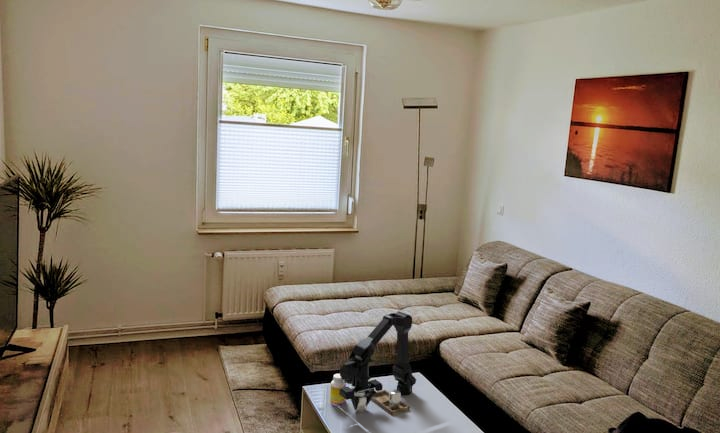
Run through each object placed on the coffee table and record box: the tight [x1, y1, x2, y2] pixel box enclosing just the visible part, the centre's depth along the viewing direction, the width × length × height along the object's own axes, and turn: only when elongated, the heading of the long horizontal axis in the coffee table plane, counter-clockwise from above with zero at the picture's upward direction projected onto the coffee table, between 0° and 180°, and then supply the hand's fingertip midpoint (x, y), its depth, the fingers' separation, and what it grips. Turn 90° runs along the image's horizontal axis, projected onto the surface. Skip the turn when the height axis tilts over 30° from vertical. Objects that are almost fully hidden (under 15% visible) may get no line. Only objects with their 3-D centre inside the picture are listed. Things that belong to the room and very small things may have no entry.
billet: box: [354, 393, 368, 414], centre depth 240 cm, size 5×5×7 cm
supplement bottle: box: [329, 373, 347, 407], centre depth 248 cm, size 7×7×13 cm
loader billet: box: [388, 389, 402, 410], centre depth 244 cm, size 5×5×7 cm
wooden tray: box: [370, 389, 411, 416], centre depth 248 cm, size 9×18×3 cm, turn 34°
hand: (360, 407), depth 241 cm, fingers closed on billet, 5 cm apart
